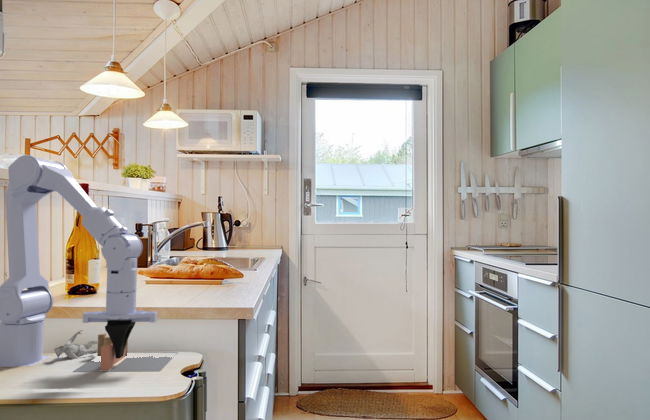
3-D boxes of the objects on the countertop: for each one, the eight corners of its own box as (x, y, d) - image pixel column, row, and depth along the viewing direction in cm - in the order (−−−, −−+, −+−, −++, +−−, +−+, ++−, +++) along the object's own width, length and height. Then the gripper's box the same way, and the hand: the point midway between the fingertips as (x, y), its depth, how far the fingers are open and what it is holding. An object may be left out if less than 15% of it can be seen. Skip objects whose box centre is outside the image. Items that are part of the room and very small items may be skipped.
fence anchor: (97, 356, 98) (98, 334, 98) (99, 355, 99) (100, 333, 99) (126, 356, 98) (126, 334, 99) (128, 355, 100) (128, 333, 100)
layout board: (72, 374, 87) (72, 371, 88) (102, 355, 101) (102, 352, 101) (160, 374, 89) (160, 370, 89) (178, 354, 103) (178, 351, 103)
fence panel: (119, 356, 98) (120, 335, 98) (126, 356, 98) (126, 335, 98) (100, 369, 88) (101, 346, 89) (107, 369, 88) (108, 346, 89)
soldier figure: (116, 357, 104) (77, 353, 93) (99, 371, 103) (59, 369, 93) (103, 331, 107) (65, 324, 96) (87, 344, 107) (47, 339, 96)
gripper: (76, 294, 88) (73, 363, 88) (150, 293, 89) (149, 362, 89) (92, 289, 95) (90, 353, 95) (161, 289, 96) (159, 352, 96)
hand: (119, 357), depth 92 cm, fingers closed
